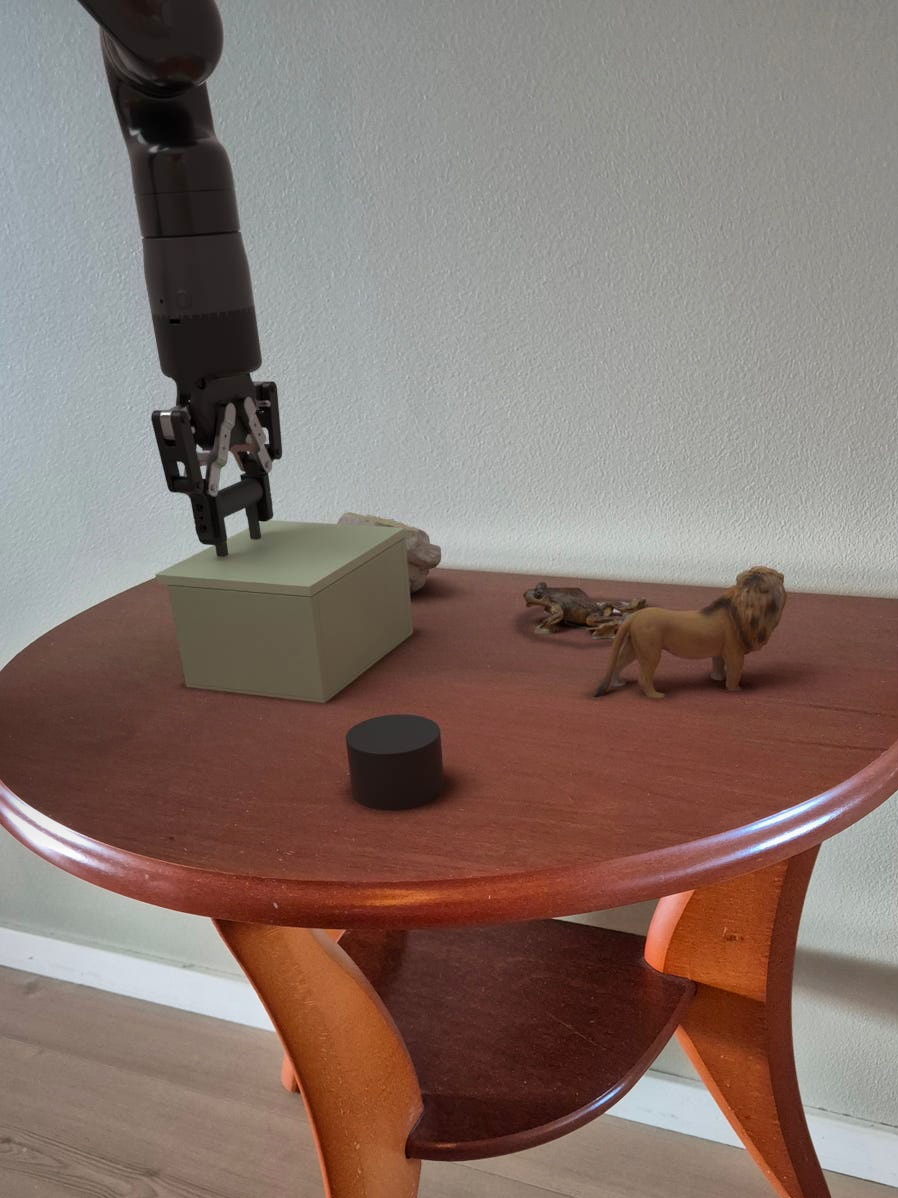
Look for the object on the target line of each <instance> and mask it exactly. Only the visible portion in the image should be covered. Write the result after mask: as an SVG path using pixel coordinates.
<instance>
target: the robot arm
mask: <svg viewBox="0 0 898 1198" xmlns="http://www.w3.org/2000/svg"><path fill="white" fill-rule="evenodd" d="M76 1H77V2H78V4H79V5H80V6H81V7H82V8H83V9H84V10H85V11H86V13H87V14H88V15H90V17H91V18H92V20H94V21H95V22H96V23H97V25H98V27H99V28H98V29H99V30H98V31H99V32H98V33H99V42H100V47H101V48H100V49H101V55H102V56H101V57H102V61H103V66H104V70H105V71H104V72H105V75H106V80H107V83H108V87H109V92H110V95H111V99H112V102H113V106H114V110H115V113H116V117H117V120H118V124H119V127H120V131H121V134H122V137H123V141H124V144H125V147H126V150H127V151H126V152H127V155H128V158H129V164H130V173H131V183H132V188H133V189H132V190H133V196H134V197H133V198H134V202H135V208H136V215H137V219H138V226H139V231H140V236H141V237H142V238H141V243H142V257H143V258H142V259H143V272H144V273H143V274H144V280H145V286H146V291H147V297H148V304H149V309H150V315H151V321H152V327H153V332H154V337H155V338H154V339H155V344H156V350H157V355H158V360H159V366H160V370H161V373H162V374H163V375H164V376H165V377H166V378H169V379H172V381H173V382H174V383H175V385H176V399H175V406H173V407H170V408H169V409H154V410H152V413H151V415H150V416H151V417H150V419H151V420H150V421H151V424H152V428H153V433H154V437H155V442H156V445H157V450H158V453H159V458H160V462H161V466H162V469H163V470H162V471H163V474H164V478H165V482H166V486H167V489H168V491H169V492H170V493H172V494H173V493H176V494H177V493H178V494H184V495H186V496H187V497H188V498H189V500H190V505H191V511H192V516H193V521H194V526H195V527H194V528H195V533H196V536H197V538H198V541H199V542H200V543H201V544H202V545H205V546H213V545H221V544H223V543H225V542H226V541H227V539H228V534H227V527H226V522H225V518H224V515H223V508H222V502H221V496H220V495H217V494H218V491H219V490H220V479H221V472H222V471H221V470H222V469H223V468H224V467H226V465H227V463H228V459H229V452H230V453H231V454H232V455H233V458H234V460H235V462H236V465H237V466H238V468H239V470H240V471H241V472H242V474H240V475H239V476H240V481H242V480H244V479H247V478H253V479H256V480H257V481H258V482H259V483H260V485H261V487H262V490H263V496H262V498H261V500H260V501H259V502H257V510H258V517H259V522H266V521H268V520H273V518H274V509H273V498H272V491H271V483H270V476H269V473H271V472H272V471H273V470H272V469H273V463H274V460H278V461H279V460H281V459H282V457H283V446H282V445H283V443H282V442H283V441H282V432H281V429H282V428H281V419H280V407H279V393H278V385H277V384H276V382H275V381H273V380H271V381H270V380H269V381H265V380H264V381H263V380H262V381H259V380H254V381H253V379H252V376H251V373H254V372H256V371H258V370H259V369H260V368H261V366H262V364H263V358H262V351H261V350H262V349H261V342H260V337H259V336H260V335H259V329H258V322H257V314H256V313H257V312H256V306H255V305H256V304H255V298H254V297H255V296H254V291H253V283H252V276H251V270H250V269H251V268H250V264H249V259H248V256H247V251H246V249H245V243H244V240H243V234H242V232H241V230H242V227H241V222H240V221H241V220H240V214H239V206H238V198H237V191H236V185H235V178H234V174H233V168H232V164H231V161H230V158H229V157H230V156H229V154H228V152H227V150H226V148H225V147H224V145H223V144H222V143H221V142H220V141H219V139H218V137H217V134H216V130H215V125H214V124H215V123H214V119H213V118H214V117H213V113H212V108H211V107H212V106H211V102H210V101H211V100H210V95H209V90H208V84H207V81H208V80H209V78H210V77H212V75H213V74H214V72H215V71H216V69H217V68H218V66H219V63H220V61H221V58H222V55H223V50H224V43H225V33H224V32H225V31H224V24H223V19H222V17H221V16H222V15H221V13H220V10H219V7H218V5H217V2H216V0H76ZM264 429H266V431H267V434H268V435H266V434H265V431H264ZM267 436H268V437H267ZM267 438H268V439H267ZM267 441H268V443H266V442H267ZM197 447H199V448H201V450H202V451H198V450H197ZM178 463H182V464H183V467H184V470H183V475H181V473H180V469H179V465H178ZM201 467H206V468H205V476H204V478H203V474H202V469H201ZM244 510H245V516H246V517H247V512H246V508H244Z"/></svg>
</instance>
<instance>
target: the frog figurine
mask: <svg viewBox="0 0 898 1198" xmlns="http://www.w3.org/2000/svg"><path fill="white" fill-rule="evenodd" d="M522 597H523V599H524V601H525V607H526V608H532V607H535V606H536V607H537V606H540V607H543V610H544V611H543V613H544V614H547V615H551V616H549V617H547V618H544V619H543V620H542V622H541V623H540V624H539V625H538V626H536V628H535V630H534V633H535V634H539V635H549V634H554V633H556V628H555V627H554V625H557V624H558V623H560V622H561V621H562V620H563V622H564V624H565V625H567V626H570V627H573V628H577V629H585V631H593V633H592V634H591V639H593V640H599V639H614V638H615V635H616V633H615V631H616V630H617V628H619V624H622V623H623V621H624V620H625V619H626V618H627V617H628V616H629V615H631V614H632V613H634V612H636V611H639V610H642V609H645V608H648V607H649V606H648V603H647V599H646V598H645V597H643V596H639V597H636V598H635V599H634V598H631V599H630V600H629V602H625V601H621V600H606V601H597V600H593V598H591V597H590V596H589V595H588V593H587V592H585V591H583V590H582V588H580V587H573V586H572V587H570V586H569V587H567V586H566V587H565V586H564V587H547V582H544V581H543V582H542V581H541V582H538V583H537V584H536V585H535V587H534V588H527V589H525V591H524V592H523V595H522ZM614 613H620V614H622V616H620V615H614Z"/></svg>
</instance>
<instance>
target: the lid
mask: <svg viewBox="0 0 898 1198" xmlns="http://www.w3.org/2000/svg"><path fill="white" fill-rule="evenodd" d="M217 495H220V496H221V502H222V508H223V515H224V519H225V518H227V517H230V516H231V515H234V514H236V513H238V512H240V511H242V510H245V508H246V511H245V513H246V512H247V516H246V518H247V526H248V528H246V529H244V530H242V531H240V532H238V533H236V534H234V535H231V536H230V537H227V541H226V542H225V543H223V544H221V545H210V546H209V547H207V548H205V549H204V550H202V551H199V552H198V553H195V554H194V555H191V556H189V557H187V558H185V559H183V560H181V561H179V562H177V563H175V564H173V565H171V566H169V567H167V568H165V569H163V570H161V571H159V572H157V573H155V579H156V584H157V585H164V586H168V585H175V586H187V587H199V588H212V589H224V590H236V591H248V592H260V593H272V594H284V595H297V596H309V597H311V596H313V595H315V594H316V593H318V592H319V591H321V590H322V589H324V588H326V587H327V586H329V585H330V584H332V583H334V582H335V581H337V580H338V579H340V578H341V577H343V576H345V575H346V574H348V573H349V572H351V571H353V570H354V569H356V568H357V567H359V566H360V565H362V564H364V563H365V562H367V561H368V560H370V559H372V558H373V557H375V556H376V555H378V554H379V553H381V552H383V551H384V550H386V549H387V548H389V547H391V546H392V545H394V544H395V543H397V542H398V541H400V540H402V539H403V538H405V528H398V527H380V526H363V525H345V524H337V523H325V522H311V521H310V522H309V521H294V520H293V521H291V520H273V519H270V520H268V521H266V522H261V521H259V517H258V510H257V502H259V501H260V500H261V498H262V496H263V490H262V487H261V485H260V483H259V482H258V481H257V480H256V479H253V478H247V479H244V480H242V481H241V480H240V481H238V482H237V481H236V482H235V483H233V484H231V485H228V486H225V487H223V488H221V489H218V494H217Z"/></svg>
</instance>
